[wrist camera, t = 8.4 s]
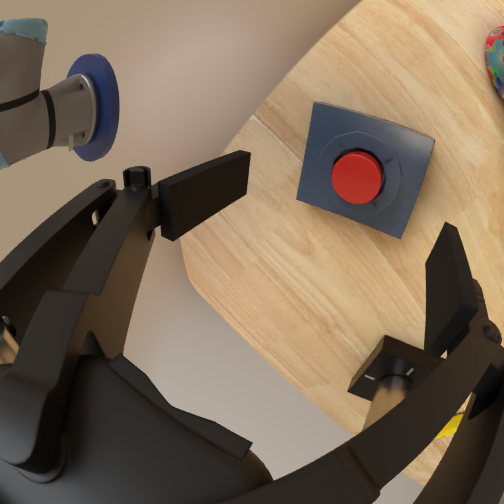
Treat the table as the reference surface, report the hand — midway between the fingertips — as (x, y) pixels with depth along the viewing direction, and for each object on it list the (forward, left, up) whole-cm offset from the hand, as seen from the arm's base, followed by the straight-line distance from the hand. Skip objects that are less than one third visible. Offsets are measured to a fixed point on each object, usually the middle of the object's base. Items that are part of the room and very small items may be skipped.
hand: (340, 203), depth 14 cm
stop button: (0, 0, -7) cm, 7 cm away
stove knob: (+14, -23, -8) cm, 28 cm away
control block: (0, 0, -10) cm, 10 cm away
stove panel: (+15, -23, -10) cm, 29 cm away
